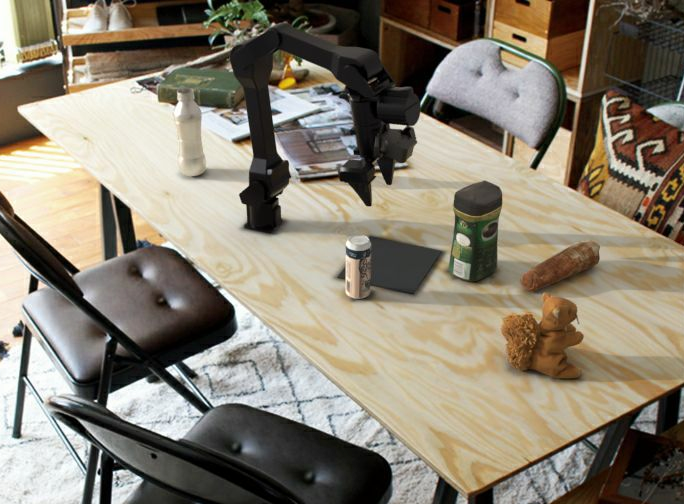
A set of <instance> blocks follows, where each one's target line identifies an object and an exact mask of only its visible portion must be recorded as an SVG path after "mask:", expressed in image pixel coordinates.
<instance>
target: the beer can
mask: <svg viewBox="0 0 684 504" xmlns="http://www.w3.org/2000/svg"><path fill="white" fill-rule="evenodd" d="M345 266H346V280H345V294H346V296H348V297H349V298H351V299H355V300H361V299H362V300H363V299H365V298H367V297H369V296H370V294H371V285H370V280H371V242H370V240H369V236H367V235H363V234H353V235H350V236H349V237H348V239H347V240H346V243H345Z"/></svg>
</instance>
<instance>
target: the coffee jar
mask: <svg viewBox="0 0 684 504" xmlns="http://www.w3.org/2000/svg"><path fill="white" fill-rule="evenodd" d="M502 209H503V192H502V189H501V187H500V186H499V185H497V184H495V183H493V182H490V181H488V180H481V181H477V182H474V183H471V184H469V185H467V186H465V187H462V188H461V189H459V190H457V191H456V192H454V196H453V203H452V211H453V214H454V226H453V234H452V243H451V248H450V255H449V263H448V270H449V272H450V274H452V275H453V276H454V277H456V278H457V279H459V280H462V281H468V282H476V281H479V280H482V279H484V278H486V277H488V276H489V275H491V274H493V273H494V272H495V271H496V270H497V268H498V238H499V237H498V235H499V221H500V215H501V211H502Z"/></svg>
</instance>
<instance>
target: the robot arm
mask: <svg viewBox="0 0 684 504" xmlns="http://www.w3.org/2000/svg"><path fill="white" fill-rule="evenodd" d="M278 51H280V52H283V53H287V54H288V55H291V56H294V57H296V58H298V59H300V60H303V61H306V62H308V63H311V64H313V65H315V66H318V67H320V68H322V69H325V70H327V71H329V73H331V74H332V76H333V77H334V78H335V80H336V81H338V82H339V83H341V84H343V85H344V87H343V89H342V91H341V92H340V94H338V98H339V99H342V100H349V107H350V113H351V120H352V125H353V126H352V127H351V128H349V133H350V134H349V135H350V136H354V138H355V144H356V147H355V148H353V149H352V153H353V156H359V157H360V158H361V159H351V158H350V159H348V160H347V161H346V162H345V163H343V164H342V166H340V168H339V169H338V170H337V175H338V181H340V182H341V183H342V182H343V183H345V184H348V185H349V186H350V187H351V189H353V191H354V192H355V194H356V195H357V196H358V197H359V199H360V200H361V201H362V203H363V204H364V205H365V206H366V207H372V206H373V194H372V193H373V192H372V191H373V190H372V182H373V181H374V180H375V179H376V178H377V175H376V165H375V163H376V164H377V166H378V169H379V170H380V174H381V176H382V177H383V180H384V182H385V184H386V185H387V186H391V185H393V180H394V175H395V167H396V163H399V164H405V163H406V162H407V161H408V159H409V158H411V157H412V156H413V152H414V149H415V146H416V145H417V144H418V140H417V135H416V132H415V128H414V126H415V125H416V124H417V123H418V121H419V119H420V116H421V110H422V105H421V101H420V99H419V97H418V95H417V94H416V93H414V88H413V87H412V86H403V87H402V86H401V87H400V86H396V81H395V80H394V78H393V77H392V75H391V74H390V72H389V71H388V69H387V68H386V67H385V66H384V64H383V62H382V60H381V58H380V55H379V53H377V52H376V51H375V50H373V49H370V48H365V47H359V46H342V45H338V44H335V43H333V42H330V41H328V40H325V39H323V38H321V37H318V36H316V35H313V34H310V33H308V32H306V31H303V30H300V29H298V28H296V27H293V26H292V25H291V24H290V23H287V22H282V21H281V22H279V23H277V24H275V25H273V26H270V27H269V28H267V29H266V30H265V31H264V32H263V33H261V34H260V35H255V36H253V37H252V36H251V37H249V38H248V39H246V40H243V41H242V42H240V43H237V44H235V45H234V46H232V47H231V50H230V51H229V54H228V56H229V62H230V65H231V69H232V72H233V76H234V78H235V79H236V80H237V82H238V83H239V84H240V85H241V87H242V90H243V96H244V101H245V102H244V103H245V108H246V109H245V110H246V115H247V122H248V129H249V137H250V142H251V149H252V159H251V163H250V166H249V170H248V186H246V188H244V189H243V190H242V191H241V192H239V193H238V197H239V199H240V202H241V204H242V205H244V206H245V207H246V208H245V209H246V210H245V211H246V222H245V223H244V224H243V229H246V230H251V231H252V230H253V231H256V232H261V233H266V234H271V233H273V232H274V231H275V230H276V229H277V228H278V227H279V226H280V224H282V222H283V221H284V219H283V218H282V206H281V205H280V199H279V196H280V195H282V194H283V193H284V190H285V189H287V187H288V186H289V184H290V180H291V179H292V175H291V172H290V161H289V160H288V159H283V158H282V157H281V156H280V155H279V153H278V150H277V148H278V147H277V141H276V134H275V127H274V119H273V112H272V111H273V110H272V105H271V103H272V102H271V98H270V97H271V96H270V89H269V82H270V79H271V75H272V72H273V68H274V54H275V53H277V52H278ZM376 80H377V82H376V83H375V84H372V85H371V83H372V82H374V81H376ZM390 125H398V126H405V127H404V128H403V129H401V128H391V126H390Z"/></svg>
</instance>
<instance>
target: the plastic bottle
mask: <svg viewBox="0 0 684 504" xmlns="http://www.w3.org/2000/svg"><path fill="white" fill-rule="evenodd" d="M176 94H177V95H176V96H177V97H176V100H177V101H178V102H177V103H176V104H175V106H174V108H173V111H172V118H173V122H174V126H175V130H176V136H177V143H178V144H177V145H178V146H177V147H178V148H177V149H178V154H177V155H178V156H177V166H178V167H177V168H178V170H179V171H180V173H181V174H182V175H183V176H187V177H197V176H200V175H202V174H203V173H204V172H205V171H206V169H207V159H206V158H207V157H206V155H205V152H204V145H203V140H202V115H203V113H202V110H201V107H200V106H199V104H197V102H196V101H195V97H196V96H195V90H194V89H193V88H191V87H182V88H179V89H177V91H176Z"/></svg>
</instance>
